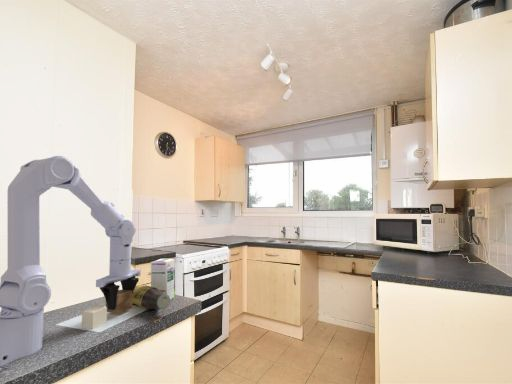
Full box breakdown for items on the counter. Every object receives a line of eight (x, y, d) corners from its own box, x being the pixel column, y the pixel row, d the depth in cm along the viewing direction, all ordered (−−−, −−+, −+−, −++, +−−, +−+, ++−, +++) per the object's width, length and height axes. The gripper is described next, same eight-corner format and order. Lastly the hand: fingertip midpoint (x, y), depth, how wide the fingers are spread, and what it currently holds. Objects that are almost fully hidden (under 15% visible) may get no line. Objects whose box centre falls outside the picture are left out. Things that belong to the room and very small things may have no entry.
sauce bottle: (139, 280, 91) (168, 283, 77) (150, 294, 92) (179, 299, 79) (123, 295, 86) (149, 300, 73) (134, 309, 88) (162, 317, 74)
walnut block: (118, 313, 76) (118, 295, 76) (105, 311, 77) (105, 294, 78) (132, 307, 80) (132, 290, 81) (119, 306, 82) (119, 289, 83)
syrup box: (167, 307, 85) (167, 261, 86) (150, 306, 86) (150, 261, 87) (175, 301, 90) (175, 258, 92) (159, 300, 91) (159, 258, 93)
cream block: (92, 328, 68) (93, 312, 68) (81, 327, 69) (82, 311, 69) (106, 322, 71) (106, 307, 72) (95, 321, 73) (96, 306, 73)
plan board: (99, 335, 65) (99, 332, 65) (55, 327, 71) (55, 324, 71) (151, 310, 82) (151, 307, 82) (112, 305, 88) (112, 303, 88)
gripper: (109, 264, 72) (108, 316, 71) (148, 256, 86) (147, 299, 84) (90, 263, 74) (89, 313, 73) (131, 255, 88) (130, 297, 87)
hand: (119, 305), depth 79 cm, fingers closed on walnut block, 5 cm apart
